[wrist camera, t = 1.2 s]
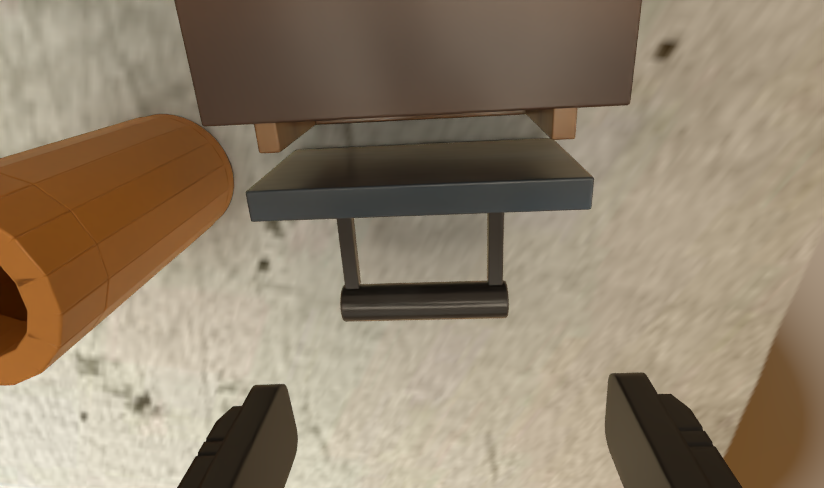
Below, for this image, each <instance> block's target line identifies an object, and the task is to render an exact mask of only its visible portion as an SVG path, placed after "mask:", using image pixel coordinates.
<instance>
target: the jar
mask: <svg viewBox="0 0 824 488" xmlns="http://www.w3.org/2000/svg"><path fill="white" fill-rule="evenodd" d="M233 188H234V182H233V173H232V169H231V165H230V162H229V160H228V157H227V156H226V154H225V152H224V150H223V149H222V147H221V146H220V144H219V143H218V142H217V141H216V140H215V138H214V137H213V136H212V135H211V134H209V133H208V132H207V131H206V130H205V129H203V128H202V127H201V126H199V125H197V124H196V123H194V122H192V121H190V120H187V119H185V118H182V117H179V116H175V115H168V114H157V115H150V116H147V117H139V118H136V119H132V120H129V121H125V122H122V123H119V124H115V125H112V126H108V127H105V128H102V129H98V130H95V131H91V132H88V133H85V134H81V135H78V136H74V137H71V138H68V139H64V140H61V141H57V142H54V143H51V144H47V145H44V146H40V147H37V148H34V149H30V150H27V151H24V152H20V153H17V154H13V155H10V156H7V157H3V158H0V385H15V384H17V383H20V382H22V381H24V380H27V379H29V378H31V377H33V376H36V375H38V374H40V373H42V372H43V371H45V370H46V369H47V368H48V367H49V366H50V365H51V364H53V363H54V362H55V361H56V360H57V359H58V358H60V357H61V356H62V355H63V354H64V353H65V352H66V351H68V350H69V349H70V348H71V347H72V346H73V345H75V344H76V343H77V342H78V341H79V340H80V339H81V338H83V337H84V336H85V335H86V334H87V333H88V332H90V331H91V330H92V329H93V328H94V327H96V326H97V325H98V324H99V323H100V322H101V321H103V320H104V319H105V318H106V317H107V316H108V315H109V314H111V313H112V312H113V311H114V310H115V309H116V308H118V307H119V306H120V305H121V304H122V303H123V302H124V301H126V300H127V299H128V298H129V297H130V296H131V295H133V294H134V293H135V292H136V291H137V290H138V289H139V288H141V287H142V286H143V285H144V284H145V283H146V282H148V281H149V280H150V279H151V278H152V277H153V276H154V275H156V274H157V273H158V272H159V271H160V270H161V269H163V268H164V267H165V266H166V265H167V264H168V263H169V262H171V261H172V260H173V259H174V258H175V257H176V256H178V255H179V254H180V253H181V252H182V251H183V250H185V249H186V248H187V247H188V246H189V245H190V244H191V243H193V242H194V241H195V240H196V239H197V238H198V237H200V236H201V235H202V234H203V233H204V232H205V231H206V230H208V229H209V228H210V227H211V226H212V225H213V224H214V223H215V221H216V220H218V219H219V218H220V217H221V216H222V215H223V214H224V212H225V211H226V209H227V208H228V206H229V204H230V201H231V198H232V195H233Z"/></svg>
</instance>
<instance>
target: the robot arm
mask: <svg viewBox="0 0 824 488" xmlns="http://www.w3.org/2000/svg"><path fill="white" fill-rule="evenodd" d="M605 434H606V440H607V445H608V448H609V451H610V454H611V456H612V459H613V461H614V464H615V466H616V469H617V471H618V474H619V476H620V479H621V481H622V484H623V486H624V488H742V486H741V485H740V483H739V482H738V480H737V479H736V477H735V476H734V474H733V473H732V471H731V470H730V468H729V467H728V465H727V464H726V462H725V461H724V459H723V458H722V456H721V455H720V453H719V452H718V450H717V449H716V447H715V446H713V444H712V441H711V439H710V438H709V436H708V435H707V433H706V432H705V431H703V429H702V426H701V424H700V423H699V421H698V420H697V418H696V417H695V415H694V414H693V412H692V411H691V409H690V408H688V407H687V406H686V405H684V404H683V403H682V402H681V401H679V400H678V399H677V398H675V397H674V396H673V395H672V394H657V392H656V390H655V389H654V387H653V385H652V384H651V382H650V380H649V379H648V377H647V376H646V374H645V373H613V374H610V375H609V379H608V389H607V402H606V415H605ZM297 443H298V435H297V428H296V424H295V419H294V415H293V411H292V406H291V402H290V398H289V393H288V389H287V387H286V385H284V384H270V385H255V386H253V387H252V389H251V390H250V392H249V394H248V396H247V398H246V399H245V401H244V403H243V405H242V406H233V407H232V408H231V409H230V410H228V411H227V412H226V413H225V414H224V415H223V416H222V417H221V418H220V419H219V420H217V421H216V423H215V425H214V426H213V428H212V430H211V431H210V433H209V435H208V437H207V438H206V442H204V443H203V445H202V447H201V448H200V450H199V452H198V456H196V457H195V459H194V460H193V462H192V464H191V465H190V467H189V469H188V470H187V472H186V474H185V475H184V477H183V479H182V481H181V482H180V484H179V486H178V487H177V488H284V487H285V484H286V481H287V478H288V476H289V473H290V470H291V467H292V464H293V461H294V459H295V455H296V451H297Z"/></svg>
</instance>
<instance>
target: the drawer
mask: <svg viewBox="0 0 824 488" xmlns="http://www.w3.org/2000/svg"><path fill="white" fill-rule="evenodd" d="M521 114H526V115H527V116H528V117H529V118H530V119H531V120H532V121H533V122H534V123H535V124H537V125H538V126H539V127H540V128H541V129H542V130H543V131H544V132H545V133H546V134H547V135H548V136H549V137H550V138H540V139H518V140H497V141H475V142H454V143H432V144H411V145H389V146H368V147H346V148H325V149H303V150H295V151H294V152H292V153H291V154H290V155H289V156H288V157H286V158H285V159H284V160H283V161H282V162H280V163H279V164H278V165H277V166H276V167H275V168H273V169H272V170H271V171H270V172H269V173H267V174H266V175H265V176H264V177H263V178H261V179H260V180H259V181H258V182H257V183H256V184H254V185H253V186H252V187H251V188H250V189H248V190H247V191H246V197H247V202H248V207H249V212H250V217H251V221H253V222H258V221H285V220H312V219H337V225H338V233H339V241H340V249H341V257H342V265H343V273H344V281H345V285H344V286H343V288H342V291H341V300H340V305H341V314H342V318H343V320H344V321H346V322H349V321H395V320H440V319H485V318H506V317H507V316H508V310H509V299H508V288H507V284H506V281H504V280H503V238H504V212H531V211H558V210H586V209H591V206H592V195H593V184H594V178H593V176H592V175H590V174H589V173H588V172H587V171H586V170H585V169H584V168H583V167H582V166H581V165H580V164H579V163H578V162H577V161H576V160H575V159H574V158H573V157H572V156H571V155H570V154H569V153H568V152H566V151H565V150H564V149H563V148H562V147H561V146H560V145H559V144H558V143H557V142H556V141H555V140H561V139H574V138H575V133H576V120H577V108H561V109H541V110H522V111H502V112H482V113H462V114H442V115H423V116H403V117H383V118H363V119H343V120H324V121H304V122H284V123H264V124H254V127H255V132H256V138H257V143H258V149H259V152H260V153H278V152H281V151H282V150H283V149H285V148H286V147H287V146H289V145H290V144H291V143H292V142H294V141H295V140H296V139H298V138H299V137H300V136H301V135H303V134H304V133H305V132H307V131H308V130H309V129H311V128H312V127H313V126H314V125H321V124H341V123H361V122H381V121H401V120H421V119H441V118H461V117H481V116H501V115H521ZM476 213H487V281H457V282H420V283H384V284H361V279H360V270H359V261H358V252H357V243H356V234H355V225H354V218H367V217H394V216H422V215H449V214H476Z"/></svg>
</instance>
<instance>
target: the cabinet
mask: <svg viewBox="0 0 824 488" xmlns="http://www.w3.org/2000/svg"><path fill="white" fill-rule="evenodd" d="M174 1H175V5H176V10H177V14H178V19H179V23H180V28H181V32H182V36H183V41H184V45H185V50H186V54H187V59H188V63H189V68H190V72H191V77H192V81H193V86H194V90H195V95H196V99H197V104H198V108H199V113H200V117H201V121H202V125H203V126H225V125H244V124H264V123H284V122H304V121H324V120H343V119H363V118H383V117H403V116H423V115H442V114H462V113H482V112H502V111H522V110H541V109H561V108H581V107H601V106H621V105H628V104H630V99H631V91H632V82H633V73H634V65H635V56H636V47H637V39H638V30H639V21H640V13H641V4H642V0H174Z"/></svg>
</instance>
